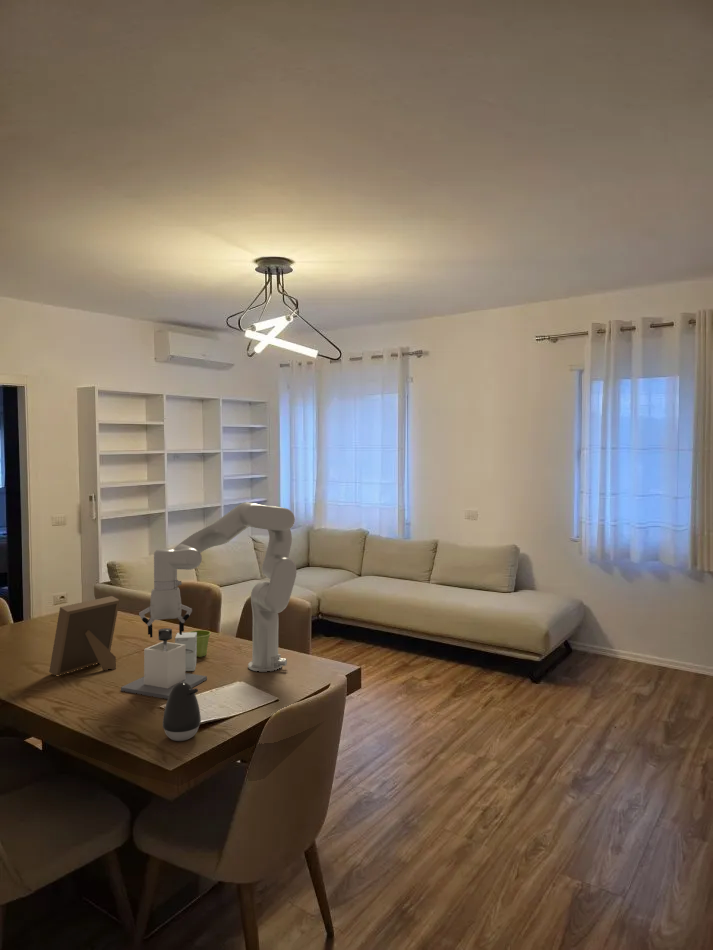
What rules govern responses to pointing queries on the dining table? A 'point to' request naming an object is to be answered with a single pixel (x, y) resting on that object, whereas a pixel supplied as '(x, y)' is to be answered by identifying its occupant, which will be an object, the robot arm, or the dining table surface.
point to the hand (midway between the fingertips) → (166, 635)
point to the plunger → (165, 636)
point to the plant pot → (202, 642)
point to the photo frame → (85, 636)
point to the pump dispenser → (181, 713)
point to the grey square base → (163, 671)
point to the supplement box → (188, 648)
